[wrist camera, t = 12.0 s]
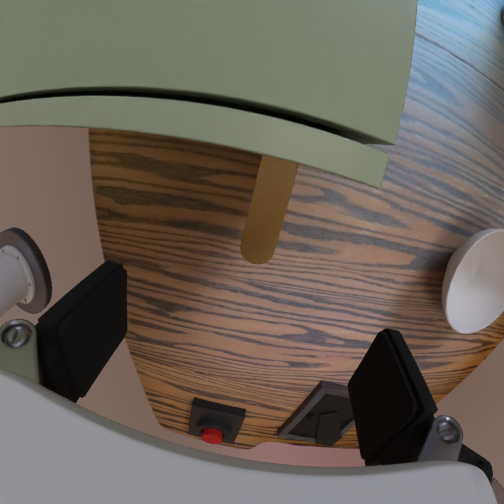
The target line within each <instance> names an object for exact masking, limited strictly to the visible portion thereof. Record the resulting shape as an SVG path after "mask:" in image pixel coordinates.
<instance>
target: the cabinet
mask: <svg viewBox="0 0 504 504" xmlns="http://www.w3.org/2000/svg"><path fill="white" fill-rule="evenodd" d="M416 14H417V0H0V103H7V102H13V101H20V100H29V99H38V98H49V97H64V96H132V97H148V98H161V99H171V100H180V101H188V102H196V103H203V104H210V105H216V106H222V107H228V108H233V109H238V110H244V111H248V112H253V113H258V114H262V115H267V116H271V117H275V118H279V119H283V120H287V121H291V122H295V123H299V124H302V125H306V126H309V127H313V128H316V129H320V130H323V131H326V132H329V133H332V134H336V135H339V136H342V137H345V138H348V139H351V140H353V141H356V142H359V143H362V144H383V145H394V144H395V141H396V137H397V133H398V129H399V125H400V120H401V116H402V111H403V106H404V101H405V96H406V91H407V85H408V80H409V74H410V67H411V60H412V53H413V45H414V37H415V26H416Z"/></svg>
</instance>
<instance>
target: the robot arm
mask: <svg viewBox="0 0 504 504" xmlns="http://www.w3.org/2000/svg"><path fill="white" fill-rule="evenodd" d="M35 293H36V286H35V280H34V276H33V273H32V270H31V268H30V266H29V264H28V262H27V260H26V259H25V257H24V256H23V255H22V253H21V252H20V251H19V250H18V249H17V248H15V247H13V246H11V245H6V246H4V247H3V248H1V249H0V317H1V316H2V315H3V314H5V313H6V312H7V311H8V310H9V309H11V308H12V307H13V306H14V305H15V304H17V303H18V302H21V303H23V304H28V303H30V302H31V301H32V300H33V299H34V297H35ZM38 322H39V323H37V324H36V325H35V326H34V325H33V324H32V323H31V322H29V321H27V320H24V319H15V320H11V321H8V322H6V323H5V324H4V325H2V326H1V328H0V504H504V488H503V487H502V486H501V485H500V483H499V482H498V481H497V480H496V479H495V478H493V479H492V477H493V471H492V466H491V464H490V462H489V461H487V460H486V459H484V458H483V457H481V456H480V455H479V454H477V453H476V452H474V451H473V450H471V449H470V448H468V447H467V446H465V445H464V444H462V441H463V431H462V428H461V426H460V424H459V423H458V422H457V421H456V420H455V419H453V418H452V417H450V416H447V415H440V416H438V417H436V418H434V416H433V415H434V414H435V413H436V412H437V410H438V409H437V407H436V404H435V402H434V400H433V397H432V395H431V393H430V391H429V389H428V387H427V384H426V382H425V380H424V378H423V376H422V374H421V372H420V370H419V368H418V366H417V364H416V362H415V360H414V358H413V356H412V354H411V352H410V350H409V348H408V346H407V344H406V342H405V340H404V339H403V337H402V335H401V333H400V332H399V331H398V330H392V329H387V328H386V329H384V330H383V331H382V332H379V333H378V334H377V336H376V337H375V339H374V341H373V343H372V344H371V346H370V348H369V350H368V351H367V353H366V355H365V356H364V358H363V360H362V361H361V363H360V365H359V366H358V368H357V369H356V371H355V372H354V374H353V376H352V377H351V379H350V380H349V383H348V392H349V396H350V401H351V406H352V411H353V416H354V421H355V426H356V431H357V437H358V442H359V448H360V454H361V457H362V459H364V460H365V466H362V467H314V466H298V465H286V464H276V463H268V462H260V461H253V460H247V459H240V458H235V457H229V456H225V455H220V454H216V453H211V452H207V451H203V450H199V449H195V448H191V447H187V446H184V445H180V444H177V443H173V442H170V441H167V440H163V439H160V438H157V437H154V436H151V435H148V434H145V433H143V432H140V431H137V430H135V429H132V428H130V427H127V426H124V425H122V424H120V423H117V422H115V421H112V420H110V419H108V418H106V417H103V416H101V415H99V414H97V413H94V412H92V411H90V410H88V409H85V408H84V407H82V406H79V405H78V404H76V402H77V400H78V399H79V397H81V398H83V397H84V396H85V395H86V394H87V392H88V390H89V389H90V387H91V385H92V384H93V383H94V381H95V379H96V378H97V377H98V375H99V374H100V372H101V371H102V369H103V367H104V366H105V365H106V363H107V362H108V360H109V359H110V357H111V356H112V354H113V353H114V351H115V350H116V349H117V347H118V346H119V344H120V343H121V341H122V340H123V339H124V337H125V335H126V333H127V271H126V270H125V269H124V268H123V265H122V264H119V263H116V262H113V261H110V260H107V261H106V262H104V263H103V264H102V265H101V266H99V267H98V268H97V269H96V270H94V271H93V272H92V273H91V274H90V275H88V276H87V277H86V278H85V279H84V280H82V281H81V282H80V283H79V284H77V285H76V286H75V287H74V288H73V289H72V290H70V291H69V292H68V293H67V294H66V295H65V296H63V297H62V298H61V299H60V300H59V301H58V302H57V303H56V304H54V305H53V306H52V307H51V308H50V309H49V310H48V311H47V312H45V313H44V314H43V315H42V316H41V317H40V318H39V319H38ZM64 397H65V398H64ZM66 398H67V399H66ZM378 465H379V466H378Z"/></svg>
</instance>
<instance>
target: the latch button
mask: <svg viewBox="0 0 504 504" xmlns="http://www.w3.org/2000/svg"><path fill="white" fill-rule="evenodd" d="M222 437H223V433H222V432H221V431H219V430H217V429H212V428H205V429H204V430H203V433H202V440H204V441H205V442H207V443H211V444H219V443H221V442H222Z"/></svg>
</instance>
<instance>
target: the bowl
mask: <svg viewBox="0 0 504 504" xmlns="http://www.w3.org/2000/svg"><path fill="white" fill-rule="evenodd" d="M442 305H443V310H444V314H445V318H446V319H447V321H448V323H449V324H450V326H451V327H452V329H454V330H455V331H457V332H459V333H464V334H469V333H474V332H477V331H479V330H481V329H483V328H485V327H487V326H488V325H489V324H491V323H492V322H493V321H494V320H496V319H497V317H498V316H499V315H500V314H501V313H502V312H503V311H504V230H503V229H486V230H483V231H481V232H478V233H476V234H474V235H473V236H471V237H470V238H468V239H467V240H466V241H464V242H463V244H462V245H461V246H459V247H458V248H457V249H456V250H455V251H454V252H453V254H452V256H451V257H450V259H449V262H448V265H447V269H446V272H445V276H444V281H443V285H442Z"/></svg>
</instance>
